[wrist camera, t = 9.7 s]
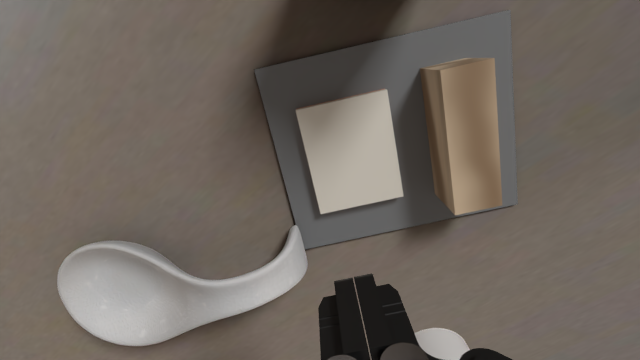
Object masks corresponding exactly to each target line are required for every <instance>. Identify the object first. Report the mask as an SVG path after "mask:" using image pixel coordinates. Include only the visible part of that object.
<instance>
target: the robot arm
mask: <svg viewBox="0 0 640 360" xmlns="http://www.w3.org/2000/svg"><path fill="white" fill-rule="evenodd" d="M354 279H355V284H356V289H357V293H358V298H359V302H360V307H361V311H362V316H363V321H364V325H365V330H366V334H367V339H368V343H369V348H370V353H371V357H372V360H443V359H438V358H435V357H433V356H431V355H429V354H427V353H426V352H425V351H424V350H423V349H422V348H421V347H420V346H419V344H418V341H417V339H416V336H415V334H414V331H413V329H412V326H411V324H410V321H409V319H408V316H407V313H406V312H405V308H404V306H403V303H402V301H401V298H400V296H399V293H398V291H397V290H396V289H394V288H393V287H392V286H391V285H390V284H386V285H381V286H376V284H375V281H374V277H373V274H367V275H362V276H357V277H354ZM334 284H335V292H336V295H333V296H328V297H324V298H323V299H322V301H321V304H320V306H319V308H318V309H319V327H320V348H321V360H370V357H369V352H368V347H367V343H366V338H365V333H364V328H363V324H362V319H361V314H360V310H359V305H358V301H357V296H356V292H355V287H354V283H353V278H348V279H343V280H338V281H334ZM460 360H512V359H510V358H508V357H506V356H504V355H502V354H500V353H498V352H496V351H493V350H490V349H484V348H477V349H472V350H469V351H467V352H465V353H464V354H463V355H462V356H461V358H460Z"/></svg>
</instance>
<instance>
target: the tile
mask: <svg viewBox="0 0 640 360" xmlns="http://www.w3.org/2000/svg"><path fill="white" fill-rule="evenodd" d="M296 114H297V119H298V123H299V127H300V131H301V135H302V139H303V143H304V148H305V152H306V156H307V160H308V164H309V168H310V172H311V176H312V181H313V185H314V189H315V193H316V197H317V201H318V205H319V210H320V214H324V213H329V212H334V211H338V210H343V209H348V208H352V207H357V206H361V205H366V204H371V203H375V202H380V201H385V200H389V199H394V198H398V197H403V189H402V183H401V176H400V170H399V163H398V156H397V150H396V143H395V137H394V130H393V124H392V117H391V111H390V104H389V98H388V91H387V89H380V90H376V91H371V92H367V93H363V94H358V95H354V96H350V97H345V98H341V99H336V100H332V101H328V102H323V103H319V104H315V105H310V106H306V107H302V108H297V109H296Z"/></svg>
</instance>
